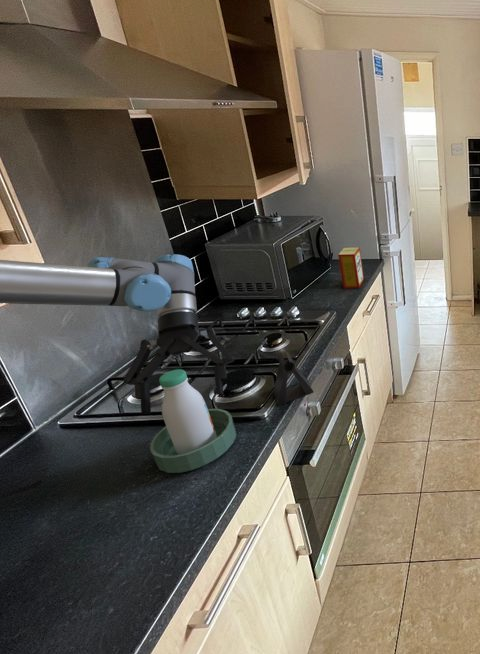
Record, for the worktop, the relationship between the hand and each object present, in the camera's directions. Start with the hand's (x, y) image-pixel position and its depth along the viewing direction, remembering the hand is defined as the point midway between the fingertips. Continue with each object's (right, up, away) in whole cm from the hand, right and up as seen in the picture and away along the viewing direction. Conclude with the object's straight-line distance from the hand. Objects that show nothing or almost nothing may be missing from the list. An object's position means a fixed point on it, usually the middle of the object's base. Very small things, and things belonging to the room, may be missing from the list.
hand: (184, 403), depth 93 cm
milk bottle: (0, -11, +4) cm, 12 cm away
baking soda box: (+4, +24, +91) cm, 95 cm away
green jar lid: (+1, -12, +4) cm, 12 cm away
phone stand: (+13, -4, +22) cm, 26 cm away
